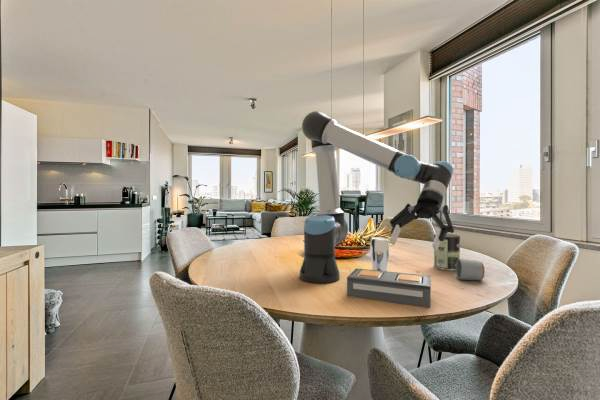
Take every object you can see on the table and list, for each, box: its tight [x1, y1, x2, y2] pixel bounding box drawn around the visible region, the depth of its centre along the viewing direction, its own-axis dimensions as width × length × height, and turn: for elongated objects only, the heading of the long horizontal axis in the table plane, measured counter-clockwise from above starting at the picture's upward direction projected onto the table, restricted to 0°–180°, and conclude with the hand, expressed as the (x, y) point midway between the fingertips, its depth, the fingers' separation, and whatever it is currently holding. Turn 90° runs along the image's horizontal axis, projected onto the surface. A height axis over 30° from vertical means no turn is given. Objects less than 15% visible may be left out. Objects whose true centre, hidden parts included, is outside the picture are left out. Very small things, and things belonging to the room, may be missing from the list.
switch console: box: [346, 268, 432, 308], centre depth 96 cm, size 24×12×6 cm, turn 66°
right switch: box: [396, 274, 422, 283], centre depth 94 cm, size 7×7×4 cm
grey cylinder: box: [455, 258, 486, 282], centre depth 116 cm, size 11×8×8 cm
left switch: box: [357, 269, 383, 279], centre depth 99 cm, size 7×7×4 cm
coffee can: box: [433, 233, 461, 272], centre depth 132 cm, size 10×10×14 cm
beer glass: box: [369, 237, 390, 272], centre depth 116 cm, size 7×7×15 cm
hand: (412, 245), depth 95 cm, fingers open, 13 cm apart
